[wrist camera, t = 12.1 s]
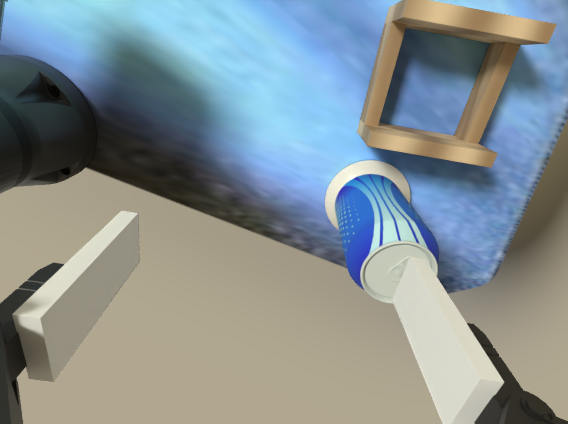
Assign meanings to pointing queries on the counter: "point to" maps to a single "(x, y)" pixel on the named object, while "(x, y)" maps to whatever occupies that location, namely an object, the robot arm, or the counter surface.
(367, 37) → the counter surface
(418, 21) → the oak holder
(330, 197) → the trivet
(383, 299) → the beer can
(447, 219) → the counter surface
